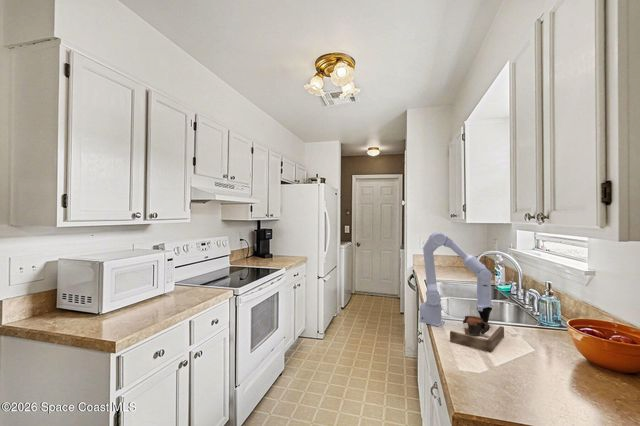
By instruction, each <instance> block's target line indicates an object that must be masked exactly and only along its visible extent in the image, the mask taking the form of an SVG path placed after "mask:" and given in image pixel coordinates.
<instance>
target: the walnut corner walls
mask: <svg viewBox="0 0 640 426" xmlns="http://www.w3.org/2000/svg"><path fill="white" fill-rule="evenodd" d="M502 338H503V339H504V338H505V327H504V326H502V325H500V326H498V328H497V329H496V330H495V331H494V332H493V333H492V334H491V336H489V338H488V339H486V338H483V337H480V336H475V335H471V334H465V333H462V332H458V331H454V330H450V331H449V342H450V343H455V344H458V345H462V346H465V347H469V348H473V349H476V350H480V351H484V352H488V353H490V354H492V352H493V351H494V350H495V348H496V347H497V346H498V345H499V343H500V342H501V341H502V340H503V339H502Z"/></svg>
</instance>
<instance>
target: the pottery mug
mask: <svg viewBox="0 0 640 426" xmlns="http://www.w3.org/2000/svg"><path fill="white" fill-rule="evenodd" d="M462 324H463V325H464V324H467V328H464V334H467V335H471V336H475V337H480V334H481V335H484V334H486V333H487V332H489V330H490V328H491V326H490V324H489V322H488V323H486V322H483V319H482V318H480V316H479V317H478V316H475V315H465V316H464V319H463V321H462Z"/></svg>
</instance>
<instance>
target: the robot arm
mask: <svg viewBox="0 0 640 426" xmlns="http://www.w3.org/2000/svg"><path fill="white" fill-rule="evenodd" d="M441 246H444V247H446V248H449V249H451V250H452V251H453V252H454V253H455V254H457V256H459V257H460V258H461V259H462V263H463V265H464V266H465V267H466V268H468V269H469V271H471V272H472V274H475V276H476V278H477V279H476V299H477V301H476V305H477V306H476V310H477V312H478V314H479V317H480V318H482V319H483V322H486V323H488V324H489V319H490V314H491V312H492V311H493V308H494V307H495V303H492V283H491V282H492V281H491V280H492V279H493V274H492V272H491V271H490V269H488V268H487V267H486V265H485V264H484V263H482V262H481V261H480V260H478V257H477V256H475V255H473V254H468V253H466V251H464V250H463V249H462V248H461V246H459V244H457V242H455V241H454V239H451V238H450V237H449V236H447V235H445V234H444V233H443V232H441V231H435V232H433V233H431V234H430V235H429V236H428V238H427V240H426V242H425V243H424V246H422V247H423V248H422V252H423V261H424V269H425V279H426V291H425V297H426V298H425V299H426V300H425V301H424V302H423V301H422V302H421V303H420V305H419V321H418V322H419V323H422V324H426V325H431V326H434V327H440V326H442V325H443V324H444V323H446V322H445V320H443V319H442V303H441V299H442V298H441V296H440V293H439V291H438V284H437V276H436V274H437V273H436V268H435V260H434V252H435V251H436V250H437V249H438V248H439V247H441Z"/></svg>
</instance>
